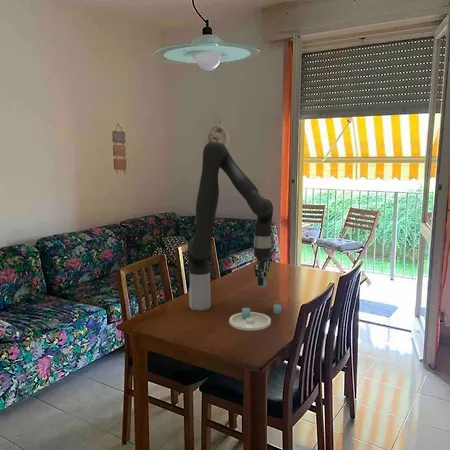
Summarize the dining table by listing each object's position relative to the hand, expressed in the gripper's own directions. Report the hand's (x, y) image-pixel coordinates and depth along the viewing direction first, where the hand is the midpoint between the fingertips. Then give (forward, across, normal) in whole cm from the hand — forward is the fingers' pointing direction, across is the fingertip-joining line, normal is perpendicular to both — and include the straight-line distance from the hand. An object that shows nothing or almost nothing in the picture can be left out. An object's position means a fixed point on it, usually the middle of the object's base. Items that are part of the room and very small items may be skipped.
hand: (262, 283), depth 187 cm
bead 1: (+12, -11, +3) cm, 17 cm away
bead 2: (+1, 0, 0) cm, 1 cm away
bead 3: (+13, +1, -7) cm, 15 cm away
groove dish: (+13, -14, 0) cm, 19 cm away
